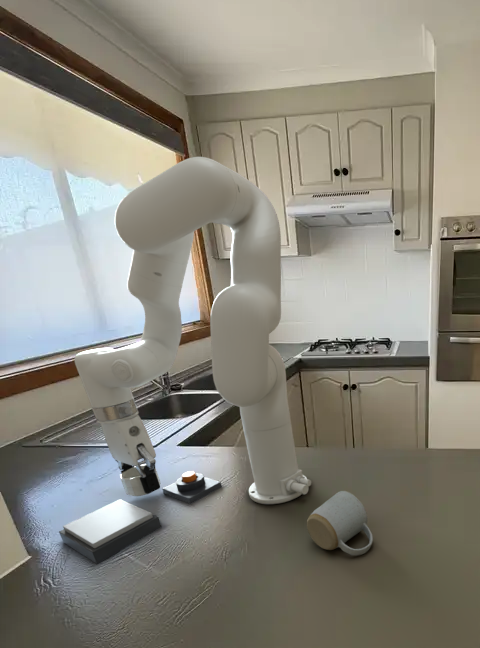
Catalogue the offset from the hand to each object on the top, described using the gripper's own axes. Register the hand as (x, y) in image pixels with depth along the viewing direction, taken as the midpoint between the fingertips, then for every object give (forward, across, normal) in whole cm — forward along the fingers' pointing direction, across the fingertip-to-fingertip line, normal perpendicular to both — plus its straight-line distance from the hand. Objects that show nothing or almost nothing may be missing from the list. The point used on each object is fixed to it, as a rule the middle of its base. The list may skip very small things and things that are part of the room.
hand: (143, 486), depth 92 cm
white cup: (+1, 0, 0) cm, 1 cm away
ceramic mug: (+4, -49, -8) cm, 50 cm away
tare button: (0, -7, -7) cm, 10 cm away
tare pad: (+3, -7, -7) cm, 10 cm away
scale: (+3, -8, +11) cm, 14 cm away
